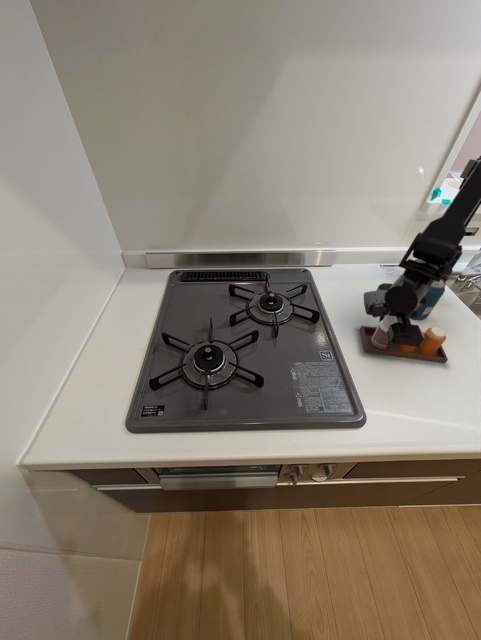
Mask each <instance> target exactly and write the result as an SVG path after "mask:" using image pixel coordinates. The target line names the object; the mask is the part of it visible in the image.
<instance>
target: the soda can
mask: <svg viewBox="0 0 481 640" xmlns="http://www.w3.org/2000/svg"><path fill="white" fill-rule="evenodd" d="M446 286H447V283H446V282H445V281H444V280H443V279H441V280H440V282H437V281H435V280H434V282H433V284H432V285H431V287H430V288H429V290H428V291H427V293H426V295H425V297H426V299H427V301H426V303H425V304H422V303H420V304H419V306H418V307H417V309H416V310H417V313H418V315H417V317H416V318H415V317H409V319H410V320H414V321H423V320H425V319H427V318H428V317H429V315H431V313H432V311H433V310H434V308H435V307H436V305H437V304H438V302H439V301H440V299H441V298H442V296H443V295H444V293H446Z"/></svg>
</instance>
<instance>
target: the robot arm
mask: <svg viewBox="0 0 481 640" xmlns="http://www.w3.org/2000/svg"><path fill="white" fill-rule="evenodd" d="M459 178H461V179H462V181H461V183H460V185H459V187H458V192H457V193H456V194H455V196H454V198H453V199H452V201H451V202H450V203H449V205H448V207H447V208H446V210H445V211H444V213H443V214H442V216H440V217H438V218H436V219H433V220H431V221H429V222H428V224H427V225H426V227H425V228H424V230H423V231H422V232H420V231H419V232H418V233H417V234H416V236H415V237H414V239H413V240H412V242H411V244H410V245H409V247H408V248H407V250H406V252H405V254H404V255H403V257H402V258H401V260H400V261H399V264H398V265H397V266H398V267H399V268H401V269H404V271H403V273H402V274H401V275H400V276H399V277H397V279H396V280H395V281H394V282H393V283H386V282H383V283H380V284H379V285H378V286H377V289H376V290H370V291H365V292H364V293H363V306H364V310H365V314H366V315H367V316H372V318H378V324H379V323H380V322H381V321H382V320H383V319H384V317H385V316H386V315H389V316H396V318H397V321H398V322H396V323H394V324H391V325H390V327H389V331H387V334H388V337H389V342H388V344H387V347H386V350H387V351H392V350H394V349H397V348H399V347H401V346H404V345H407V346H414V347H420V346H421V345H422V343H423V342H424V341H425V339H424V336H423V334H422V331H421V329H420V327H421V326H420V325H419V324H412V322H411V318H409V317H415V318H416V317H417V315H418V313H417V310H416V309H417V307H418V306H419V304H420V303H422V304H425V303H426V301H427V299H426V297H425V295H426V293H427V291H428V290H429V288H430V287H431V285H432V284H433V282H434V280H435V281H437V282H440V280H441V279H443V280H444V281H445V283H446V282H447V280H449V278H450V277H451V275H452V273H453V272H454V270H453V269H454V267H455V266H456V265H457V262H458V261H459V260H460V258H461V257H462V255H463V251H462V250H464V249H463V247H464V246H463V245H461V242H462V241H463V239H464V237H465V236H466V234H467V228H468V226H469V224H470V223H471V221H472V220H473V218H474V217H475V215H476V213H477V211H478V210H479V208H480V207H481V155H479V157H478V158H476V159H471V158H469V159H468V161H467V164H466V165H465V167H464V168H463V171H462V172H461V174H460V176H459ZM411 255H412V258H414V259H411V258H409V257H410V256H411ZM419 326H420V327H419Z"/></svg>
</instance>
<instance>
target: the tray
mask: <svg viewBox="0 0 481 640" xmlns="http://www.w3.org/2000/svg"><path fill="white" fill-rule="evenodd" d="M377 327H378V326H369V325H361V326H360V328H359V333H360V339H361V344H362V349H363V353H364V354H373V355H380V356H387V357H393V358H402V359H409V360H414V361H415V360H417V361H423V362H430V363H438V364H446V363H447V362H448V361H449V359H448V357H447V354H446V352H445V349H444V348H443V344H442V345H441V346H440V347H439V348H438V350H437V351H436V352H435V353H434V354H433V355H425V354H422V353H421V352H419V351H418V350H417V348H415V349H414V351H413V352H410V353H407V352H403V351H401V350H400V349H399V348H397V349H394V350H392V351H387V350H386V349H381V348H378V347H376V346H375V345H374V344H373V343H372V340H371V339H372V336H373V335H374V333H375V331H376V329H377Z"/></svg>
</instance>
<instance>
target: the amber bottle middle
mask: <svg viewBox="0 0 481 640" xmlns="http://www.w3.org/2000/svg"><path fill="white" fill-rule="evenodd" d="M418 326H419V327H420V329H421V331H422V334H423V336H424V333H425V332H424V329H423V327H421V326H420V325H418ZM415 348H416V347H414V346H407V345H404V346H401V347H399V349H400V350H401V351H403V352H407V353H410V352H413V351H414V349H415Z"/></svg>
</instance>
